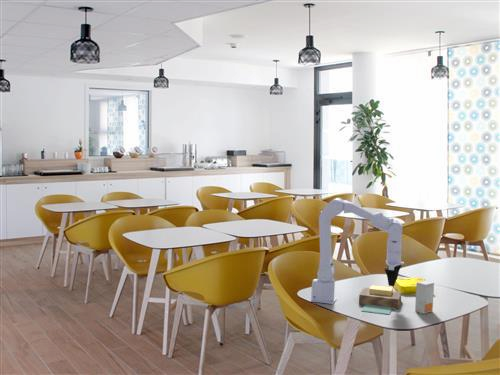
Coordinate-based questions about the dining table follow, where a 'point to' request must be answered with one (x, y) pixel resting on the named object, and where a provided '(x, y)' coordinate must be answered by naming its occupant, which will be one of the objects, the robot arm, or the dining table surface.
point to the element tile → (407, 285)
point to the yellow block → (381, 290)
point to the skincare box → (424, 297)
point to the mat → (376, 309)
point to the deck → (380, 299)
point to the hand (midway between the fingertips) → (392, 283)
